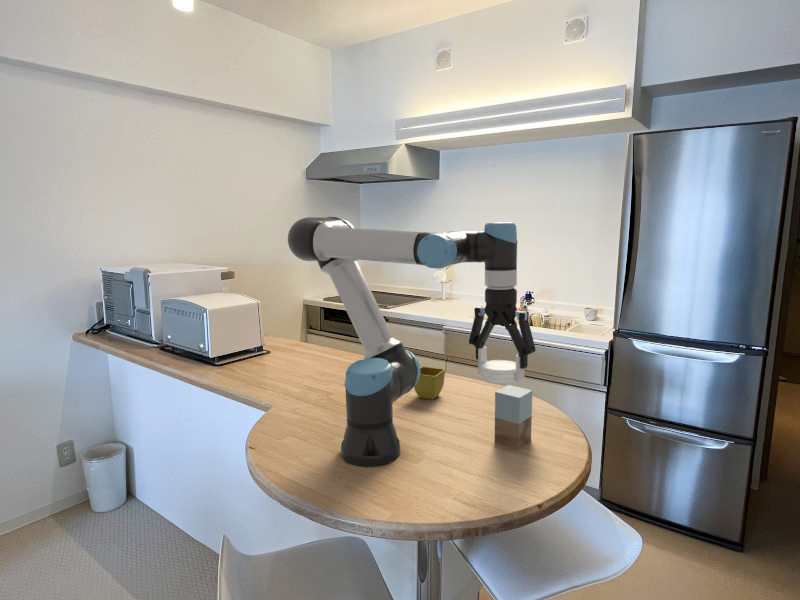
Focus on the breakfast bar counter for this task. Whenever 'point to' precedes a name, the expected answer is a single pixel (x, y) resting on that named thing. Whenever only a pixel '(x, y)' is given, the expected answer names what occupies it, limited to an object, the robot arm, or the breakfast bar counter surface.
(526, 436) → the block bottom
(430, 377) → the flower pot
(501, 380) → the white round disc
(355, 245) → the robot arm
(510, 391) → the block top
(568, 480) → the breakfast bar counter surface
